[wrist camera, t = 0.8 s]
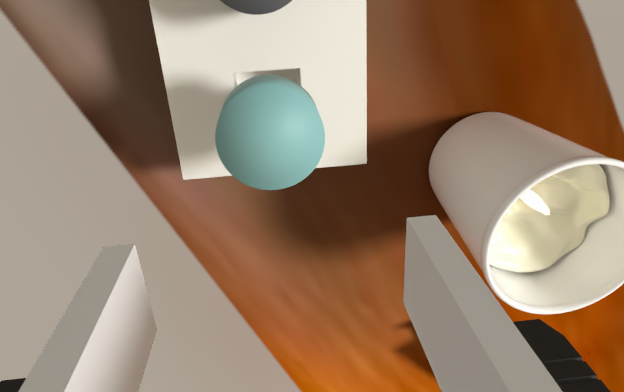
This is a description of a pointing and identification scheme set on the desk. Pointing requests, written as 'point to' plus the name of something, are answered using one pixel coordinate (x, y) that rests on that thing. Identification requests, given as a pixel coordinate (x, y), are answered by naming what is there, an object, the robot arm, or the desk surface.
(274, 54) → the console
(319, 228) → the desk surface
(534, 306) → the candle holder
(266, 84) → the knob
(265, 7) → the knob mid
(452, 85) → the desk surface
